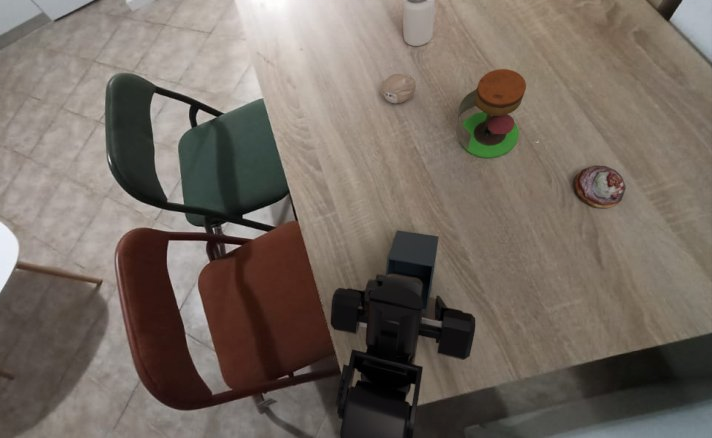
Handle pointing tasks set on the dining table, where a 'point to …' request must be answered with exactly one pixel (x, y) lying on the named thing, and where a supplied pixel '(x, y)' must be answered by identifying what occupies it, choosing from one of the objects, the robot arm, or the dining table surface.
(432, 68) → the dining table surface
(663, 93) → the dining table surface
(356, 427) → the robot arm
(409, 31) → the can
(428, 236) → the bin
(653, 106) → the dining table surface
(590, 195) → the pastry
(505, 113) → the toy burger
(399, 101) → the beige rounded lump
